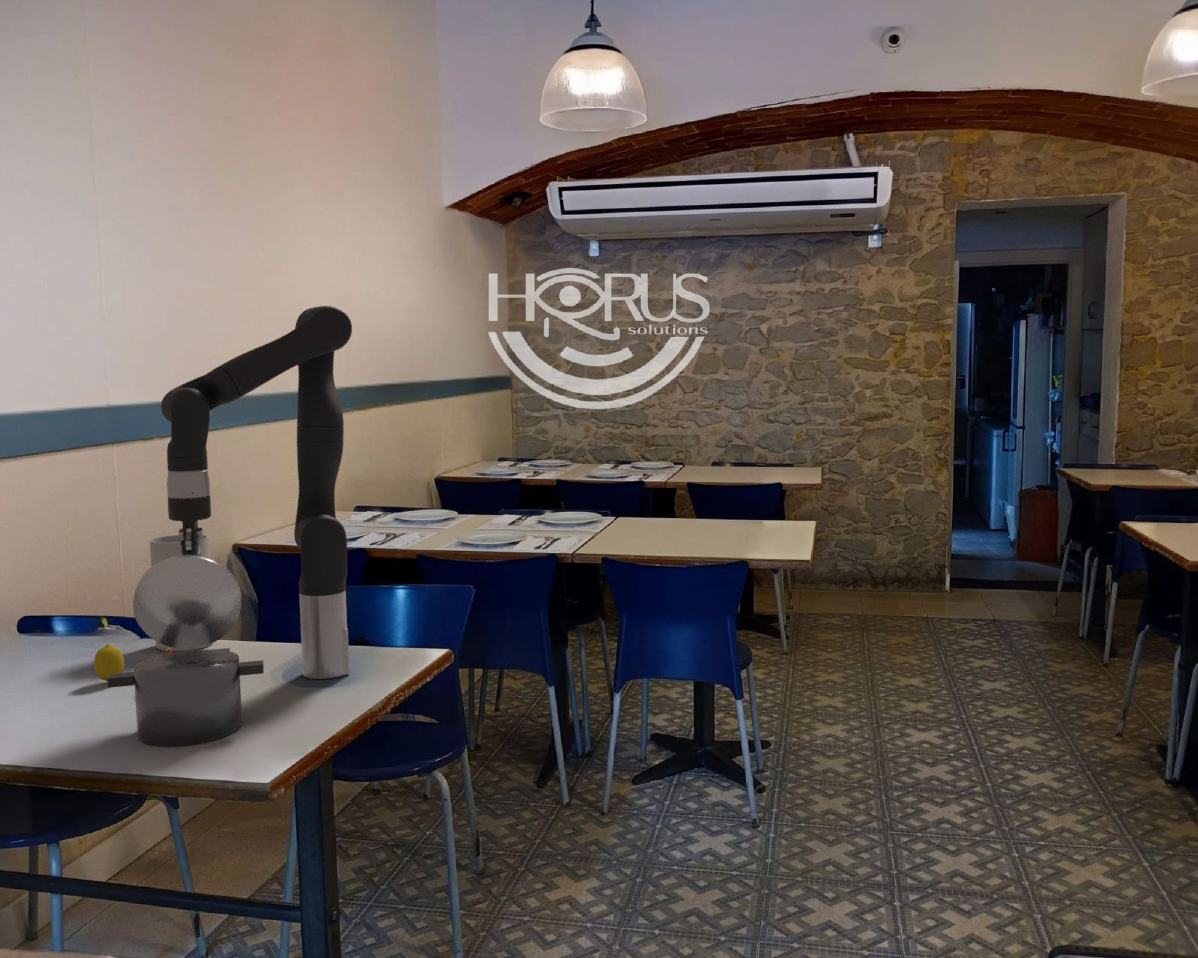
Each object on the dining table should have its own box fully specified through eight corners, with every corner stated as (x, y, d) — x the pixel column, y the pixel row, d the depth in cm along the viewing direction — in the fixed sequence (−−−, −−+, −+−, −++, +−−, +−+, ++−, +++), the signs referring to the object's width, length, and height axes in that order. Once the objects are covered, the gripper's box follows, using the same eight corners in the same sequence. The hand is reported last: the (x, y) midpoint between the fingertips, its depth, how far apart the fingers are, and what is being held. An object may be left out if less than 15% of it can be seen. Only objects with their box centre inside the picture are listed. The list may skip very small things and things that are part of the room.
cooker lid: (243, 644, 191) (244, 634, 194) (238, 554, 185) (238, 546, 188) (137, 653, 185) (140, 642, 189) (128, 561, 179) (131, 552, 183)
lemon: (101, 679, 212) (99, 641, 211) (129, 678, 213) (127, 640, 212) (90, 687, 207) (88, 648, 206) (119, 686, 207) (116, 647, 206)
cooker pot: (266, 705, 194) (263, 642, 192) (265, 737, 176) (262, 668, 175) (121, 719, 186) (117, 654, 185) (104, 754, 169) (100, 682, 168)
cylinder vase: (208, 650, 234) (202, 541, 231) (149, 654, 232) (143, 543, 229) (218, 637, 246) (213, 533, 244) (163, 640, 244) (157, 535, 242)
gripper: (207, 496, 190) (212, 590, 191) (212, 489, 202) (216, 577, 204) (163, 498, 188) (168, 592, 189) (171, 491, 200) (175, 579, 202)
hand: (193, 584), depth 197 cm, fingers closed
